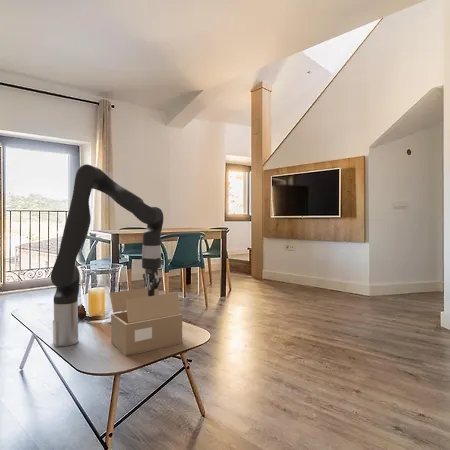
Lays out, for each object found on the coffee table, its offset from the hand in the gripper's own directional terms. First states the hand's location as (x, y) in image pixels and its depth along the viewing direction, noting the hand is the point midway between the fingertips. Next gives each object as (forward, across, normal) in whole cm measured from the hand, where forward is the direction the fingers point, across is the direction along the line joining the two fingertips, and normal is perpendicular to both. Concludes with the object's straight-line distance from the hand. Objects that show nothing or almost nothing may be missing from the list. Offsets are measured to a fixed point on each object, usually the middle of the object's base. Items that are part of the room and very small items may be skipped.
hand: (151, 298), depth 144 cm
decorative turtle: (+21, -58, -11) cm, 63 cm away
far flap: (+4, -16, 0) cm, 17 cm away
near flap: (+3, +3, 0) cm, 4 cm away
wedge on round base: (+21, -38, +1) cm, 43 cm away
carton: (+20, -5, 0) cm, 20 cm away
